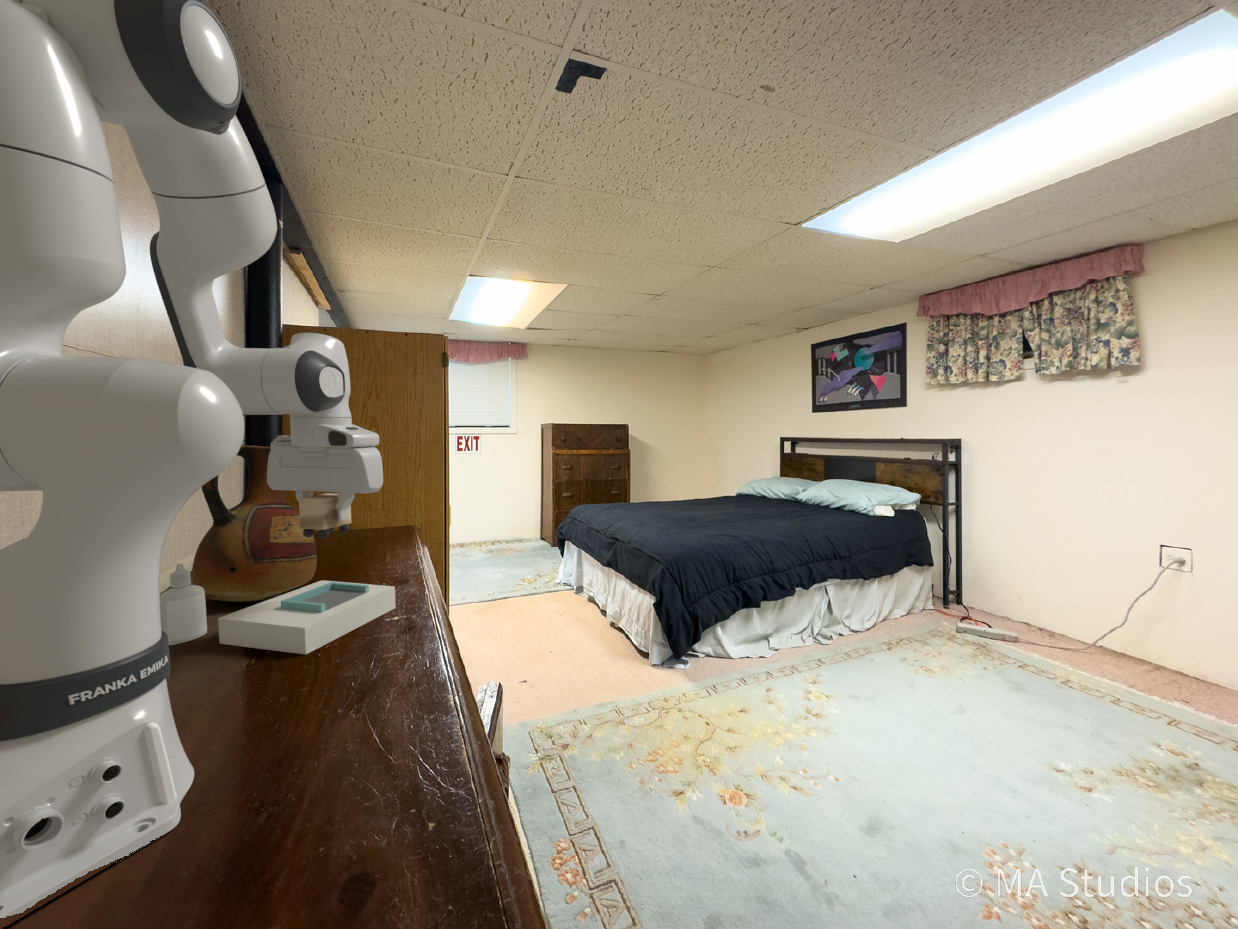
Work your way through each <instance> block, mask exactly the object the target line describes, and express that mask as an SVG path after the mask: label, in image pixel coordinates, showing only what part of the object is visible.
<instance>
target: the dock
mask: <svg viewBox="0 0 1238 929" xmlns="http://www.w3.org/2000/svg"><path fill="white" fill-rule="evenodd" d="M396 605H397V604H396V586H393V585H392V586H391V585H379V584H369V583H358V582H348V581H347V582H346V581H345V582H344V581H335V580H319V581H316V582H313V583H311V584H308V585H305V586H301V587H300V588H299V587H298V589H297V588H296V589H295V590H294V589H293V590H292V591H291V590H290V591H289V592H288V591H287V592H286V593H284V594H283V593H282V594H281V595H280V594H279V595H277V596H274V597H273V598H272V597H271V598H268V599H266V600H263V601H261V602H257V603H256V604H253V605H250V606H247V607H245V608H241V609H240V610H237V611H234V612H231V613H229V614H226V615H223V616H219V617H217V621H218V637H219V638H218V639H219V644H221V645H227V646H236V647H243V648H253V649H259V650H268V651H275V652H276V651H277V652H281V653H282V652H283V653H291V654H299V655H308V654H309V653H312V652H313V651H315V650H317V649H319V648H321V647H323V646H325V645H328V644H329V643H331V642H333V641H335V640H336V639H339V638H340V637H342V636H345V635H346V634H348V633H350V632H352V631H354V630H356V629H357V628H360V627H362V626H363V625H366V624H367V623H369V622H371V621H374V620H376V619H377V618H379V617H380V616H383V615H385V614H387V613H389V612H390V611H392V610H394V609H396Z"/></svg>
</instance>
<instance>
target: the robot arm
mask: <svg viewBox="0 0 1238 929" xmlns="http://www.w3.org/2000/svg"><path fill="white" fill-rule="evenodd" d="M242 88H243V87H242V76H241V71H240V67H239V62H238V59H237V55H236V53H235V49H234V48H233V45H232V42H231V40H230V38H229V35H228V34H227V32H226V30H225V29H224V27H223V25H222V24H221V22H220V21H219V19H218V18H217V16H216V15H215V14H214V13H213V12H212V11H211V9H209V7H208V6H207V5H206V4H205V3H204V2H203V1H202V0H0V492H29V491H31V492H34V491H35V492H36V491H38V492H39V491H40V492H41V491H42V504H41V508H40V509H41V510H40V514H39V517H38V519H37V521H36V523H35V526H34V527H33V528H32V529H31V531H30V533H29V534H28V535H27V536H26V537H24V538H22V539H19V540H17V541H15V542H13V543H11V544H8V545H7V546H4V547H2V548H1V549H0V909H1V910H0V918H6V917H7V916H12V915H15V914H19V913H23V912H24V911H25V910H26V909H27V908H31V907H32V906H34V905H35V904H36V903H37V902H38V901H40V900H42V899H44V898H46V897H47V896H48V895H51V894H53V893H55V892H56V891H57V890H58V889H61V888H62V887H64V886H66V885H67V884H68V883H71V882H73V881H74V880H75V879H76V878H79V877H82V876H84V875H86V874H87V873H88V872H89V871H93V870H95V869H98V868H99V867H102V866H104V865H107V864H109V863H110V862H113V861H115V860H117V859H120V858H123V857H124V856H127V857H129V856H130V855H131V854H130V853H132V852H133V853H135V852H137V851H139V850H140V849H142V848H144V847H145V846H147V845H149V844H151V842H150V841H152V840H154V841H155V840H157V839H160V838H161V837H163V836H164V835H166V834H167V833H168V832H170V831H172V830H173V829H174V828H176V827H177V826H178V824H179V823H180V821H181V817H182V812H181V811H182V810H181V803H182V800H183V799H184V798H185V796H186V795H187V792H188V791H189V789H190V788H191V786H192V784H193V782H194V778H195V769H194V767H193V765H192V763H191V761H190V760H189V758H188V756H187V753H186V752H185V750H184V746H183V745H182V742H181V739H180V736H179V734H178V729H177V726H176V723H175V718H174V715H173V711H172V706H171V700H170V694H169V690H168V684H169V679H170V675H171V671H172V670H171V669H172V668H171V656H170V655H171V654H170V646H169V645H168V636H167V634H166V633H165V632H164V631H161V616H160V594H161V562H162V553H163V549H164V546H165V542H166V539H167V536H168V534H169V531H170V529H171V526H172V524H173V523H174V521H175V519H176V517H177V516H178V514H179V512H180V511H181V509H182V508H183V507H184V505H186V504H187V502H188V501H189V500H190V498H191V497H193V495H194V494H195V493H196V492H197V491H199V490H200V489H202V486H203V485H204V484H206V483H207V482H209V481H210V480H212V479H213V478H215V477H216V476H218V475H220V474H221V473H223V472H224V471H225V470H226V469H227V468H229V466H230V465H231V464H232V462H233V461H234V460H235V458H236V457H237V456H238V455H237V453H238V452H239V450H240V447H241V445H242V444H243V441H244V436H245V420H244V417H246V416H250V415H251V416H252V415H253V416H254V415H256V416H258V415H259V416H263V415H264V416H266V415H275V416H277V415H278V416H279V415H281V416H284V415H289V426H290V435H285V434H284V435H283V434H282V435H281V434H280V435H278V436H276V438H274V439H273V440H272V442H270V446H269V447H270V448H271V451H270V453H269V457H268V467H267V483H268V485H269V487H270V488H271V489H272V490H283V491H290V492H292V491H293V492H295V499H296V500H297V502H298V503H299V498H303V497H309V496H314V492H317V493H318V492H319V493H321V492H322V493H336V494H337V495H338V499H341V500H340V503H339V505H338V508H336V509H333V514H334V515H333V518H334V519H338V520H343V519H347V518H348V516H349V514H348V508H349V507H350V505H352V503H353V501H354V499H355V494H371V493H376V492H377V493H378V492H380V490H381V488H382V487H383V485H384V469H383V468H384V467H383V459H382V456H381V452H380V451H379V449H378V448H377V446H379V445H380V436H379V434H378V433H376V432H374V431H371V430H368V429H365V428H363V427H361V426H359V425H356V424H353V419H352V412H351V410H350V407H349V406H350V405H349V402H350V401H349V399H350V396H351V392H352V391H351V389H352V388H351V377H350V376H351V375H350V366H349V360H348V357H347V352H346V348H345V344H344V343H343V342H342V341H341V340H339V339H338V338H336V337H335V336H332V335H329V334H324V333H320V332H314V331H313V332H312V331H305V332H304V331H303V332H298V333H295V334H293V335H292V336H291V340H290V343H289V345H287V346H283V347H274V348H264V347H263V348H260V347H259V348H258V347H257V348H256V347H250V348H249V347H240V346H237V345H235V344H232V343H231V342H230V341H229V340H227V338H226V337H225V333H224V329H223V326H222V323H221V319H220V315H219V312H218V309H217V305H216V301H215V298H214V293H213V283H214V280H216V279H217V278H220V277H223V276H225V275H228V274H230V273H233V272H235V271H238V270H241V269H242V268H244V267H246V266H249V265H251V264H252V263H254V262H255V261H257V260H259V259H260V258H261V257H263V256H264V255H265V254H266V253H267V252H268V251H269V250H270V248H271V246H272V245H273V243H274V242H275V239H276V236H277V232H278V221H277V216H276V215H277V214H276V211H275V206H274V204H273V201H272V198H271V195H270V191H269V189H268V187H267V184H266V181H265V178H264V176H263V172H262V170H261V167H260V164H259V162H258V160H257V157H256V155H255V152H254V150H253V148H252V145H251V144H250V142H249V140H248V137H247V136H246V133H245V131H244V129H243V127H242V125H241V123H240V121H239V119H238V117H237V115H236V113H237V111H238V108H239V106H240V105H239V104H240V102H241V97H242ZM102 122H105V123H109V124H112V125H116V126H122V128H124V130H125V131H126V134H127V137H128V140H129V143H130V145H131V148H132V150H133V154H134V156H135V157H134V158H135V159H136V161H137V163H138V166H139V168H140V171H141V173H142V176H143V177H144V180H145V182H146V184H147V187H148V189H149V191H150V193H151V195H152V197H153V199H154V203H155V205H156V209H157V211H158V219H159V229H158V230H159V231H157V232H156V233H154V234H153V235H152V237H151V239H150V242H149V257H150V262H151V266H152V271H153V273H154V274H153V275H154V277H155V281H156V284H157V287H158V290H159V293H160V296H161V300H162V302H163V305H164V309H165V312H166V314H167V316H168V317H167V318H168V320H169V322H170V323H169V324H170V326H171V328H172V332H173V334H174V338H175V340H176V343H177V346H178V349H179V353H180V355H181V359H182V364H177V363H173V362H167V361H161V360H156V359H150V358H144V357H143V358H142V357H114V356H113V357H112V356H111V357H109V356H78V355H76V356H75V355H73V356H72V355H63V354H62V352H63V342H64V336H65V333H66V331H67V329H68V328H69V325H70V324H71V323H72V321H73V320H74V319H75V318H76V317H77V316H78V314H80V313H81V312H83V311H84V310H86V309H88V308H91V307H94V306H95V305H98V304H101V303H103V302H105V301H107V300H109V299H110V298H112V297H113V296H114V295H116V293H118V291H119V290H120V289H121V287H122V285H123V283H124V281H125V278H126V274H127V266H126V265H127V264H126V258H125V251H124V245H123V238H122V236H123V235H122V230H121V222H120V216H119V210H118V203H117V196H116V187H115V180H114V174H113V169H112V167H113V166H112V163H111V162H112V161H111V157H110V154H109V153H110V152H109V148H108V144H107V141H106V135H105V131H104V128H103V124H102ZM218 477H219V476H218ZM160 836H161V837H160ZM156 838H157V839H156ZM152 842H153V841H152ZM143 846H144V847H143ZM141 847H142V848H141ZM139 848H140V849H139ZM138 849H139V850H138ZM136 850H137V851H136ZM134 851H135V852H134ZM133 853H132V854H133ZM129 854H130V855H129ZM123 859H124V858H123Z"/></svg>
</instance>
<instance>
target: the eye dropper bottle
mask: <svg viewBox="0 0 1238 929" xmlns="http://www.w3.org/2000/svg"><path fill="white" fill-rule="evenodd" d="M169 580H170V588H168V589H167V590H165V591H163V592H162V593H160V616H161V631H164V632H165V633H166V634H167V636H168V645H169V647H171V646H175V645H179V644H184V643H188V642H190V641H194V640H196V639H198V638H201V637H204V636H205V635H206V634H207V633H208V623H207V622H208V621H207V605H206V604H207V603H206V596H205V591H204V589H203V588H202V587H200V586H197V585H193V584H192V573H191V571H190V570H187V569H185V567H184V564H183V563H176V568H175V571H173V572H171V573H170V574H169Z"/></svg>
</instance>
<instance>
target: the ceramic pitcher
mask: <svg viewBox="0 0 1238 929" xmlns="http://www.w3.org/2000/svg"><path fill="white" fill-rule="evenodd" d="M270 451H271V448H270V446H260V445H259V446H258V445H249V444H248V445H245V444H244V443H242V444H241V447H240V450H239V452H238V453H237V455H236V456H238V457H241V458H242V459H244V461H245V462H246V465H247V470H248V476H247V477H248V478H247V480H248V482H247V488H246V491H245V494H244V496H243V498H242V500H241V501H240V503H238V504H236V505H235V506H233V507H231V508H229V509H228V507H227V505H226V504H225V503H224V500H223V499H222V497H221V493H220V491H219V475H220V474H219V475H218V476H216V477H215V478H213V479H212V480H210V481H209V482H207V483H206V484H204V485H203V486H202V487H201V491H202V493H203V497H204V499H205V502H206V504H207V507H208V511H209V513H210V515H211V518H212V521H213V522H212V525H211V527H210V528H209V529H208V531H206V533H205V535H204V536H203V538H202V539H201V541H200V543H199V545H198V547H197V549H196V551H195V554H194V557H193V558H194V559H193V563H192V567H191V583H192V585H197V586H200V587H202V588H203V589H204V591H205V598H208V599H209V600H215V601H222V602H223V601H224V602H235V603H237V602H239V603H240V602H241V603H242V602H259V601H266V600H269V599H271V598H272V597H273V598H274V597H278V596H280V595H282V594H283V593H285V592H288V591H291V590H294V589H297V588H299V587H303V585H305V584H308V583H309V582H310V581H311V580H312V579H313V578H314V575H315V573H316V571H317V570H316V569H317V564H318V563H317V562H318V555H317V554H318V552H317V545H316V539H315V537H314V535H313V536H312V537H309V538H307V537H305V536H304V535H303V531H304V529H300V513H299V511H298V510H296V509H295V508H294V507H292V506H291V505H290V504H289V503H288V502H287V498H286V495H285V492H284V490H272V489H271V488H270V487H269V485H268V483H267V467H268V457H269V453H270Z"/></svg>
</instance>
